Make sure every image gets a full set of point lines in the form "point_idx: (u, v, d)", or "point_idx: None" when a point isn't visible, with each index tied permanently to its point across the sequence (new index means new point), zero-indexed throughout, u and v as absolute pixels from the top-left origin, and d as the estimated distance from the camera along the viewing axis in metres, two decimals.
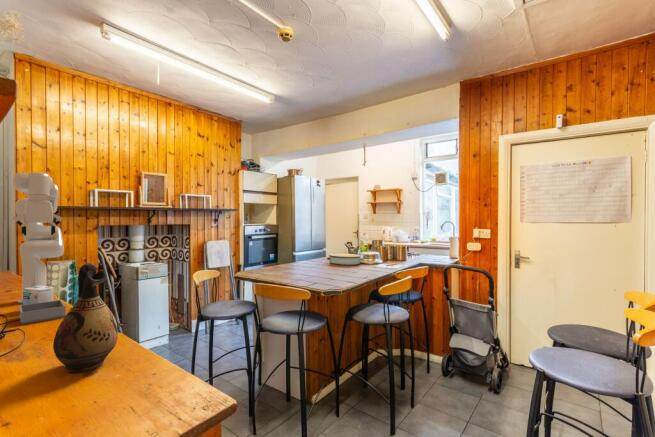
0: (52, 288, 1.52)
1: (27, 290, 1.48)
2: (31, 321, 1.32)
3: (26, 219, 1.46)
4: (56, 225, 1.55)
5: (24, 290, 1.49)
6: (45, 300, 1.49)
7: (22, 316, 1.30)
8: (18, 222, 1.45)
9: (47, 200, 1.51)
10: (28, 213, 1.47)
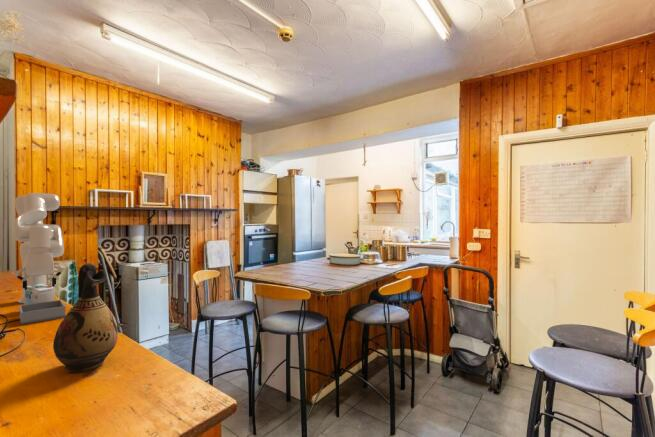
0: (53, 288, 1.51)
1: (29, 289, 1.48)
2: (31, 321, 1.32)
3: (27, 273, 1.45)
4: (57, 276, 1.54)
5: None
6: (45, 300, 1.48)
7: (22, 316, 1.30)
8: (19, 277, 1.44)
9: (48, 252, 1.51)
10: (29, 267, 1.46)
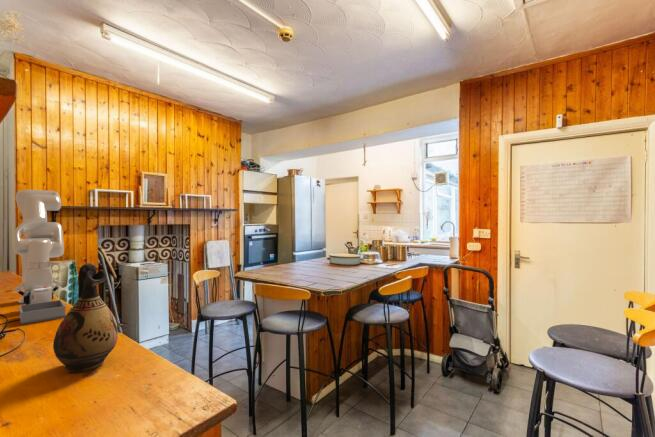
0: (50, 289, 1.50)
1: None
2: (31, 321, 1.32)
3: (26, 288, 1.46)
4: (54, 291, 1.54)
5: None
6: (42, 301, 1.48)
7: (22, 316, 1.30)
8: (20, 292, 1.46)
9: (47, 267, 1.51)
10: (28, 282, 1.47)
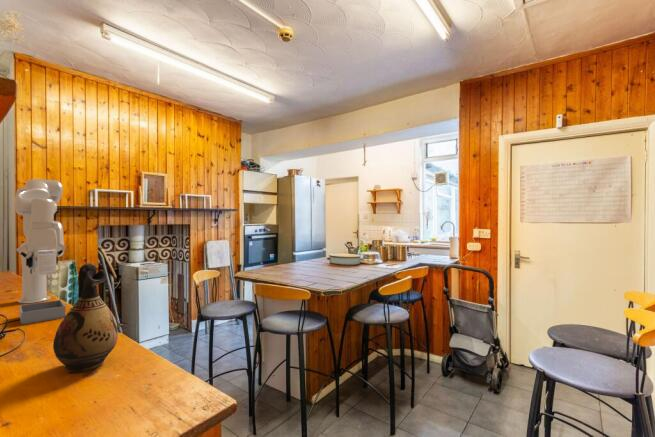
0: (54, 251, 1.40)
1: None
2: (31, 321, 1.32)
3: (29, 249, 1.36)
4: (58, 255, 1.44)
5: None
6: (46, 263, 1.38)
7: (22, 316, 1.30)
8: (22, 254, 1.36)
9: (51, 228, 1.41)
10: (31, 243, 1.37)
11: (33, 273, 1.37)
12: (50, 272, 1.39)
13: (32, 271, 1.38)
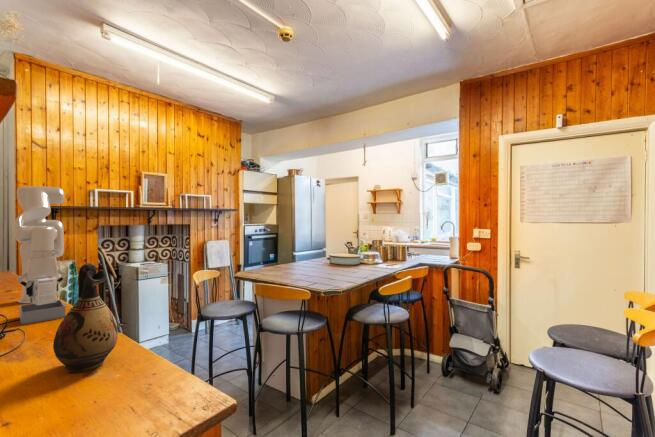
0: (55, 279, 1.39)
1: None
2: (31, 321, 1.32)
3: (29, 278, 1.35)
4: (59, 282, 1.43)
5: None
6: (46, 292, 1.37)
7: (22, 316, 1.30)
8: (22, 283, 1.35)
9: (51, 256, 1.40)
10: (31, 272, 1.36)
11: (33, 302, 1.36)
12: (50, 301, 1.38)
13: (32, 300, 1.37)
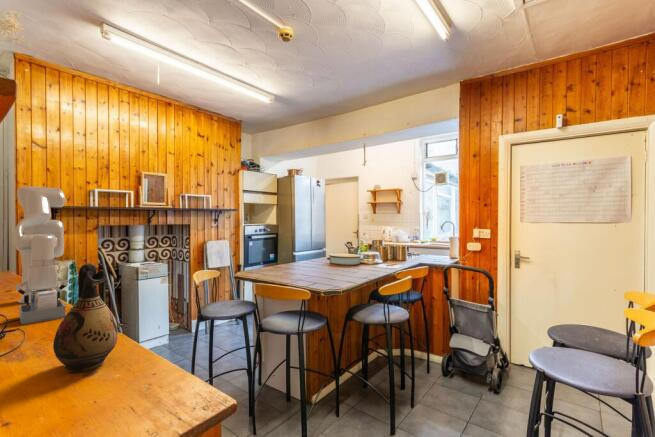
0: (55, 292, 1.39)
1: (32, 293, 1.39)
2: (31, 321, 1.32)
3: (29, 287, 1.35)
4: None
5: (31, 292, 1.40)
6: (46, 305, 1.37)
7: (22, 316, 1.30)
8: (20, 291, 1.34)
9: (51, 264, 1.40)
10: (31, 281, 1.36)
11: None
12: None
13: None
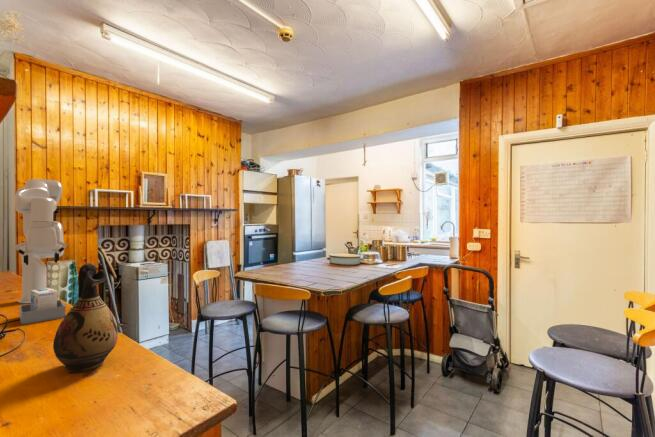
0: (55, 292, 1.39)
1: (32, 293, 1.39)
2: (31, 321, 1.32)
3: (28, 248, 1.38)
4: (60, 252, 1.46)
5: (31, 292, 1.40)
6: (46, 305, 1.37)
7: (22, 316, 1.30)
8: (20, 251, 1.36)
9: (50, 227, 1.42)
10: (30, 241, 1.38)
11: None
12: None
13: None
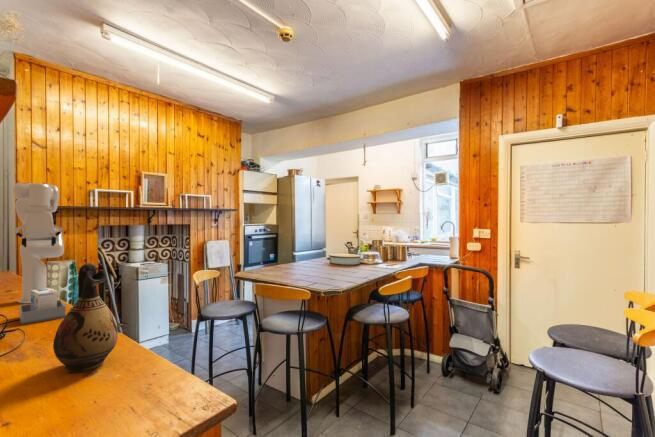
0: (55, 292, 1.39)
1: (32, 293, 1.39)
2: (31, 321, 1.32)
3: (26, 231, 1.45)
4: (56, 236, 1.53)
5: (31, 292, 1.40)
6: (46, 305, 1.37)
7: (22, 316, 1.30)
8: (18, 234, 1.44)
9: (47, 211, 1.50)
10: (28, 225, 1.45)
11: None
12: None
13: None
